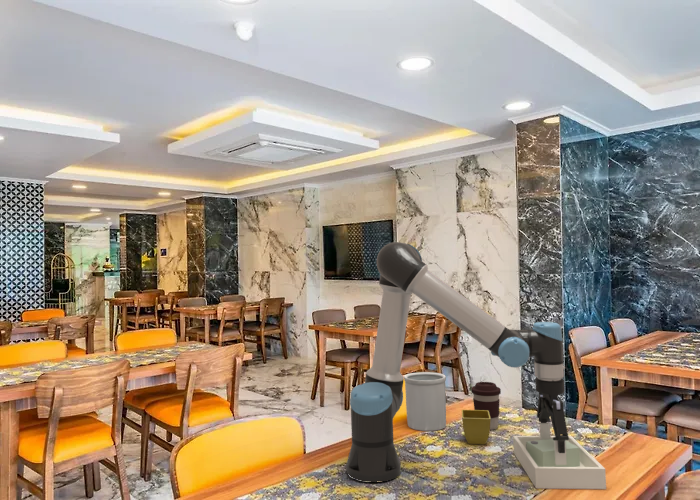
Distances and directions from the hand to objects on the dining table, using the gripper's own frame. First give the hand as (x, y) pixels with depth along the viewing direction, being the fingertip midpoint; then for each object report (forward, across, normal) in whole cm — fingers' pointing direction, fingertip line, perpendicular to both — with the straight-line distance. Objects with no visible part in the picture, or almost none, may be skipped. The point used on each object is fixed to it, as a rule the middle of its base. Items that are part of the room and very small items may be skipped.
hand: (552, 454), depth 138 cm
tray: (+3, -2, 0) cm, 4 cm away
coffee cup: (+3, +34, +12) cm, 36 cm away
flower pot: (+4, +19, +18) cm, 26 cm away
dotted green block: (+2, 0, 0) cm, 2 cm away
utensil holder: (+4, +36, +33) cm, 49 cm away
